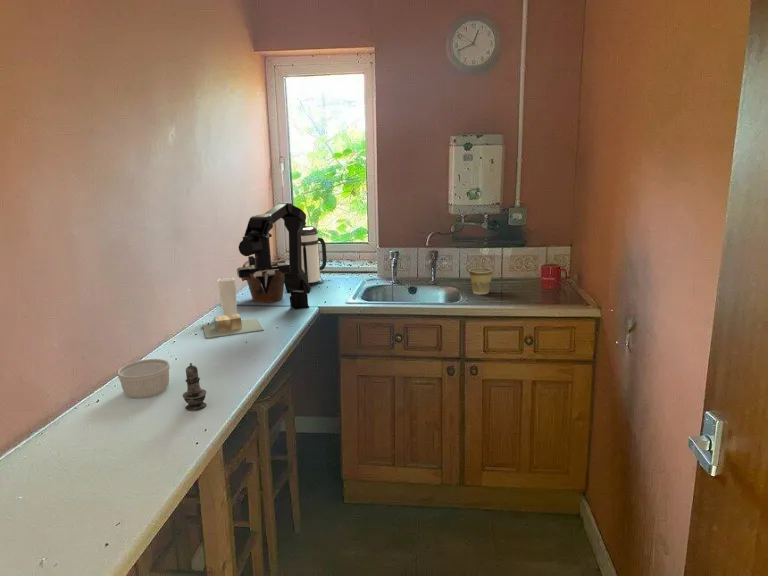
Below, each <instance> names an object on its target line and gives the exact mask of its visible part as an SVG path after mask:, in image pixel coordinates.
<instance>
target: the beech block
mask: <svg viewBox="0 0 768 576" xmlns="http://www.w3.org/2000/svg"><path fill="white" fill-rule="evenodd" d="M241 320H242V317H241V315H240V314H239V313H237V314H233V315H226V316H223V315H218V316H214V317H213V322H214V323H213V324H215V329H216V332H220V331H227V330H234V329H242V323H241Z"/></svg>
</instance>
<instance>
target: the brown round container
mask: <svg viewBox="0 0 768 576" xmlns="http://www.w3.org/2000/svg"><path fill="white" fill-rule="evenodd" d="M278 263H287V262H286V260H285V259H284V258H281V259H279V260H277V261H271V265H272V267H273V266H277V264H278ZM242 267H248V268H249V269H254V265H249V261H248V260H247V261H245V262H244V263H243V264H242ZM259 271H261V270H259ZM265 273H266V272H265ZM265 273H262V275H263V276H264V281H265ZM274 274H275V275H276V276H274V277H273V278H272V280H271V282H270V285H269V289H268V292H267V293H264V290H263V288H262V285H261V283H260V281H259V280H258V278H255V277H254V276H253V274H250V275H249V277H244V278H240V279H241V281H242V282H245V281H246V283H247V286H248V289H249V291H250V295H251V299H252V301H254V302H256V303H273V302H278V301H280V300H282V299H283V297H284V288H285V283H284V281H285V277H284V275H285V273H282V272H281V271H275V272H274Z"/></svg>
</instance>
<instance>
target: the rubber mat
mask: <svg viewBox="0 0 768 576" xmlns="http://www.w3.org/2000/svg"><path fill="white" fill-rule="evenodd" d="M241 323H242V329H234V330H227V331H220V332H216V329H215V324H214V323H211V324H210V323H209V324H203V325H202V327H203V332H204V337H205V339H212V338H220V337H227V336H235V335H241V334H249V333H257V332H263V331H265V330H264V328H263V326H262V325H261V323H260V321H259V320H258V318H257V317H256V318H248V319H241Z"/></svg>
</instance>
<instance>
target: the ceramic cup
mask: <svg viewBox="0 0 768 576" xmlns="http://www.w3.org/2000/svg"><path fill="white" fill-rule="evenodd" d="M468 274H469V279H470V282H471V288H472V293H473V294H475V295H478V296H479V295H487V294H489V291H490V287H491V281H492V277H493V274H494V270H493V268H491V267H472V268H470V269H468Z"/></svg>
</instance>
